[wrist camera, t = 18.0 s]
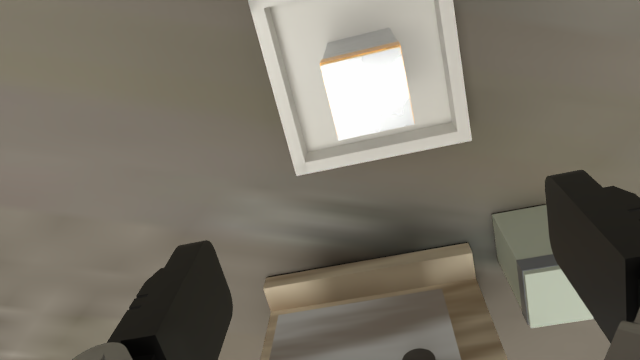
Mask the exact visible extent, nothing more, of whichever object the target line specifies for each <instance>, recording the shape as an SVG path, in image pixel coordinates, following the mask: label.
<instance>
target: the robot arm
mask: <svg viewBox="0 0 640 360" xmlns="http://www.w3.org/2000/svg"><path fill="white" fill-rule="evenodd" d="M545 193H546V205H547V217H548V229H549V239H550V245H551V249H552V252H553V255H554V258H555V260H556V262H557V264H558V265H559V267H560V268H561V270H562V271H563V273H564V274H565V276H566V277H567V279H568V280H569V282H570V283H571V285H572V286H573V288H574V289H575V291H576V292H577V294H578V295H579V297H580V298H581V300H582V301H583V303H584V304H585V306H586V307H587V309H588V310H589V312H590V313H591V315H592V316H593V318H594V319H595V320H596V322H597V323H598V325H599V326H600V328H601V329H602V331H603V332H604V334H605V335H606V337H607V338H608V340H609V341H610V343H611V345H610V347H609V349H608V352H607V354H606V357H605V359H604V360H640V198H639V197H638V196H637V195H636V194H634V193H631V192H628V191H625V190H623V189H620V188H617V187H615V186H610V187H604V188H603V187H602V186H600V185H599V184H598V183H597V182H596V181H595V180H594V179H593V178H592V177H591V176H590V175H588V174H587V173H586V172H585V171H584V170H577V171H572V172H567V173H562V174H556V175H551V176H547V177H546V180H545ZM232 311H233V306H232V297H231V293H230V290H229V287H228V285H227V282H226V279H225V277H224V274H223V271H222V268H221V266H220V263H219V260H218V257H217V255H216V252H215V249H214V247H213V245H212V244H211V242H210V241H207V240H206V241H201V242H195V243H190V244H185V245H180V246H178V247H177V248H176V249H175V251H174V252H173V254H172V256H171V257H170V259H169V261H168V262H167V264H166V266H165V267H164V268H161V269H160V270H159V271H157V272H156V273H155V274H154V275H153V276H152V277H151V278H149V279H148V280H147V281H146V282H145V283H144V285H143V286H142V288H141V290H140V291H139V293H138V294H137V298H136V299H134V301H133V302H132V304H131V305H130V307H129V310H127V312H126V313H125V315H124V316H123V318H122V320H121V321H120V323H119V324H118V326H117V327H116V329H115V331H114V332H113V334H112V335H111V337H110V338H109V340H108V342H107V343H104V344H101V345H97V346H95V347H92V348H90V349H88V350H86V351H84V352H82V353H81V354H79V355H77V356H76V357H75V358H73V359H72V360H218V357H219V354H220V351H221V348H222V345H223V342H224V339H225V336H226V333H227V330H228V327H229V324H230V321H231V318H232Z"/></svg>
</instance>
